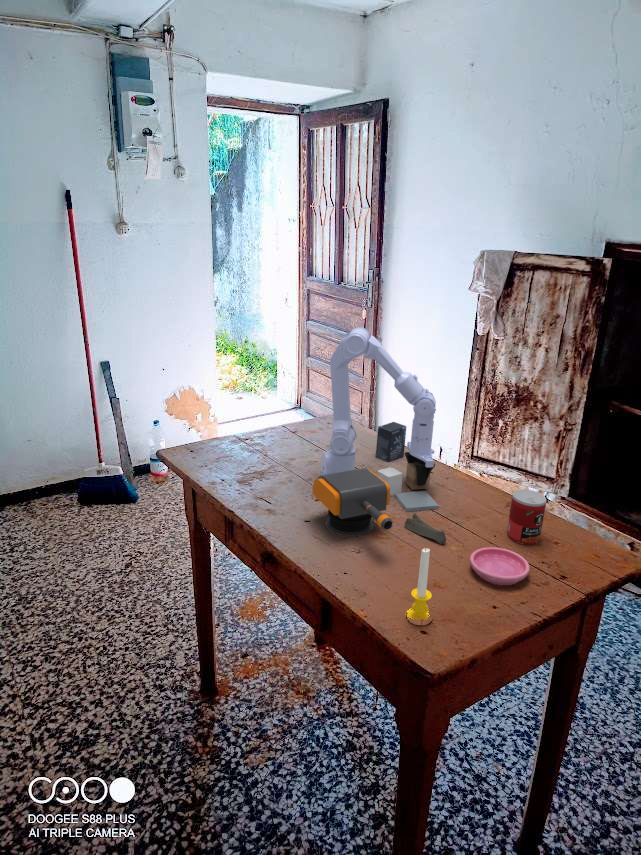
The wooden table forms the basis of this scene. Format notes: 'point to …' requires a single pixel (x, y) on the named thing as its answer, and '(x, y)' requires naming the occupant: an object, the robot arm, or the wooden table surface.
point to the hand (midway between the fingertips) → (417, 480)
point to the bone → (424, 529)
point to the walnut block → (414, 478)
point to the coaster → (416, 501)
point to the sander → (353, 501)
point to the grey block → (391, 479)
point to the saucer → (499, 565)
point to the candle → (421, 590)
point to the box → (390, 441)
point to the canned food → (526, 516)
